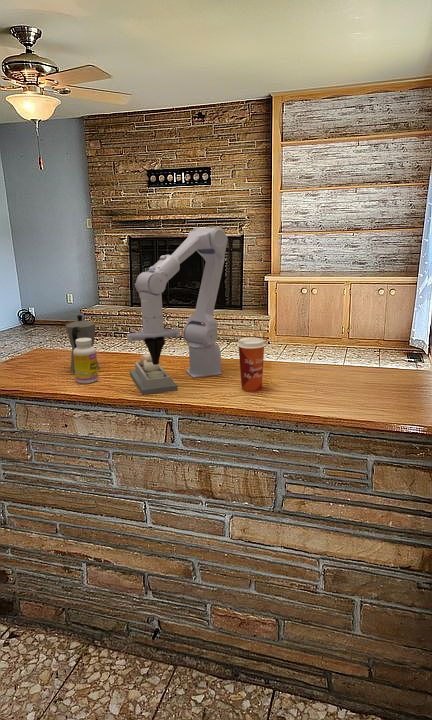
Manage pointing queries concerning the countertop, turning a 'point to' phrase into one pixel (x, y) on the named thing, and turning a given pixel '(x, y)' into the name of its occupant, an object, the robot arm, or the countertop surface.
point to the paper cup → (251, 363)
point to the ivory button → (150, 366)
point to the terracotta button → (144, 357)
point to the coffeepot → (80, 334)
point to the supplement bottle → (85, 361)
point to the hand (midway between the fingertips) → (155, 363)
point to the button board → (152, 381)
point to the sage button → (155, 374)
